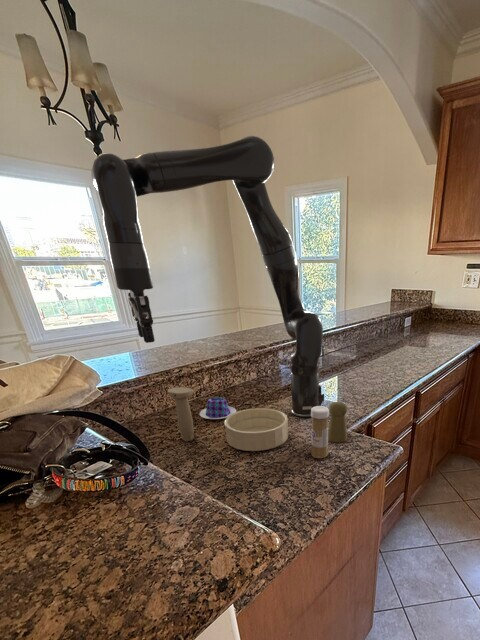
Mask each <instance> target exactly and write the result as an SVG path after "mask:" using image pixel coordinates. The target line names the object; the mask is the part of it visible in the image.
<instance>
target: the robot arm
mask: <svg viewBox="0 0 480 640" xmlns="http://www.w3.org/2000/svg"><path fill="white" fill-rule="evenodd" d="M274 168H275V157H274V153H273V151H272V148H271V146H270V145H269V143H268V142H266V140H264V139H262V138H261V137H259V136H257V135H256V136H255V135H247V136H245V137H244V136H243V137H242V138H240V139H238V140H235V141H232V142H229V143H225V144H221V145H216V146H209V147H203V148H192V149H176V150H175V149H174V150H163V151H152V152H151V151H150V152H145V153H142V154H140V155H138V156H136V157H131V158H121V157H120V156H118V155H117V154H114V153H109V152H105V153H100V154H99V155H98V156H96V157H95V158H94V160H93V162H92V168H91V181H92V183H93V185H94V187H95V188H96V190H97V192H98V195H99V200H100V204H101V208H102V213H103V215H102V219H103V220H102V221H103V226H104V232H105V236H106V238H107V244H108V251H109V258H110V262H111V266H112V272H113V275H114V278H115V279H114V280H115V283H116V287H117V288H118V289H119V290H121V291H129V292H128V293H127V296H128V297H127V300H128V303H129V306H130V311H131V314H132V317H133V319H134V321H135V325H136V328H137V332H138V337H140V338H143V341H144V342H145V344H150V343H154V342H155V335H154V331H153V324H154V319H153V315H152V309H151V307H150V299H149V297H148V295H145V290H152V289H153V288H154V283H153V276H152V272H151V267H150V261H149V257H148V253H147V250H146V247H145V243H144V238H143V233H142V227H141V223H140V220H139V215H138V214H139V213H138V212H139V211H138V201H137V200H138V199H137V197H142V196H146V195H149V194H163V193H170V192H178V191H185V190H188V189H189V190H190V189H193V188H198V187H201V186H205V185H209V184H213V183H218V182H224V181H225V182H226V181H232V183H233V185H234V187H235V189H236V191H237V193H238V196H239V198H240V201H241V202H242V204H243V207H244V209H245V212H246V214H247V216H248V219H249V223H250V225H251V229H252V231H253V234H254V237H255V239H256V242H257V245H258V248H259V251H260V255H261V257H262V260H263V263H264V266H265V268H266V271H267V275H268V277H269V279H270V282H271V284H272V286H273V287H272V288H273V290H274V292H275V296H276V298H277V301H278V305H279V309H280V311H281V316H282V320H283V323H284V327H285V331H286V333H287V334H288V336H289V337H290V338H291V339H293V340H295V352H292V353H291V355H290V381H291V382H290V384H291V385H290V386H291V387H290V389H291V414H292V415H294V416H296V417H298V418H310V417H311V409H312V408H313V407H316V406H322V404H323V402H325V393H323V392H322V385H321V384H320V358H321V355H322V351H323V335H324V331H323V321H322V320H321V317H320V316H319V315H318V314H316V313H314V312H312V311H307V310H306V307H305V306H304V303H303V301H302V298H301V294H300V288H299V278H300V276H299V275H300V268H299V265H300V264H299V259H298V256H297V252H296V249H295V246H294V243H293V240H292V237H291V235H290V233H289V231H288V229H287V227H286V226H285V224H284V223H283V222H282V219H280V217H279V215H278V214H277V212H276V210H275V208H274V207H273V205H272V202H271V200H270V199H271V198H270V196H269V193H268V190H267V186H266V183H265V182H267V181H268V180H269V178H270V177H271V176H272V175H273V172H274ZM311 418H312V417H311Z"/></svg>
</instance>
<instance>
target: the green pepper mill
mask: <svg viewBox="0 0 480 640" xmlns="http://www.w3.org/2000/svg"><path fill="white" fill-rule="evenodd" d="M329 404H330V405H329V407H328V409H329V414H330V418H329V422H328V442H332V443H336V444H337V443H344V442H346V441H347V440H348V430H347V420H346V414H347V413H348V405H347V404H346V403H345V402H343V401H332V402H331V403H329Z"/></svg>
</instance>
